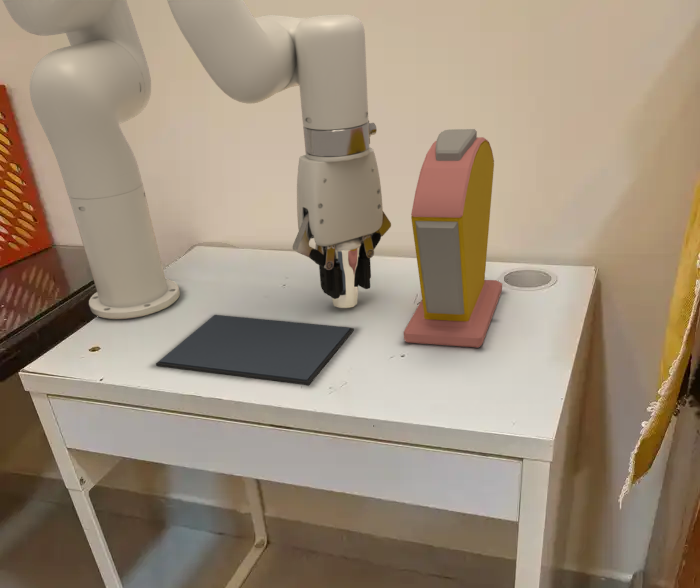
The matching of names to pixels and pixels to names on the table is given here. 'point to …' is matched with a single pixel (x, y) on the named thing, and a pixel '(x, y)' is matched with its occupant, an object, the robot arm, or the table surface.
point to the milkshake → (347, 272)
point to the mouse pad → (258, 348)
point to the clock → (453, 242)
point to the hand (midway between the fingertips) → (346, 289)
